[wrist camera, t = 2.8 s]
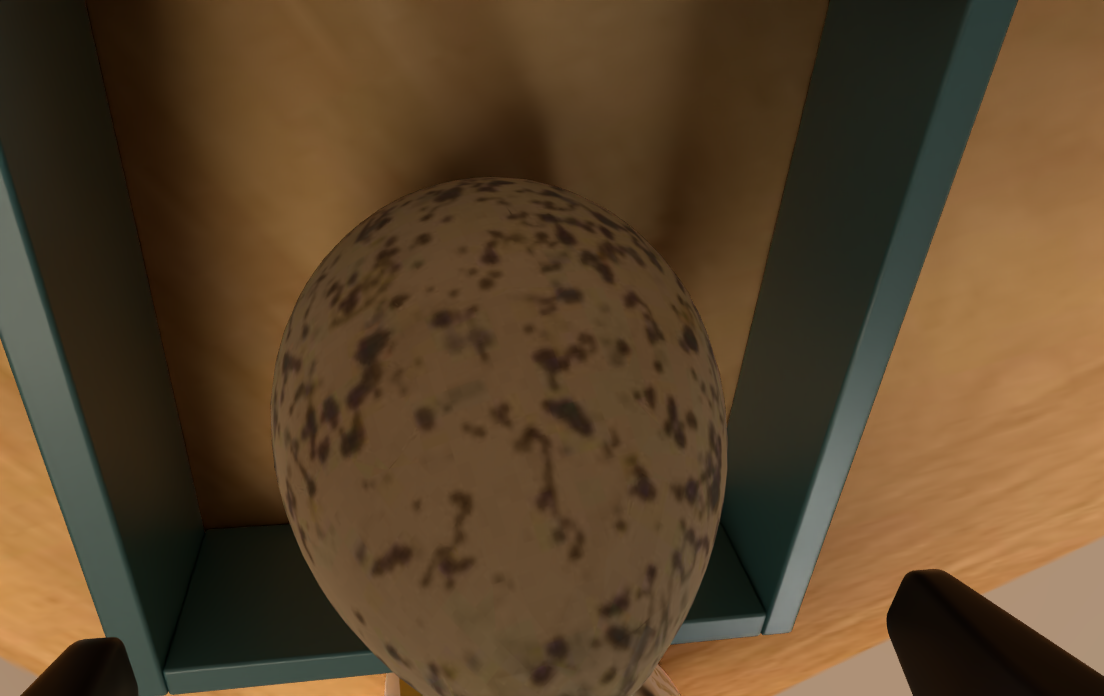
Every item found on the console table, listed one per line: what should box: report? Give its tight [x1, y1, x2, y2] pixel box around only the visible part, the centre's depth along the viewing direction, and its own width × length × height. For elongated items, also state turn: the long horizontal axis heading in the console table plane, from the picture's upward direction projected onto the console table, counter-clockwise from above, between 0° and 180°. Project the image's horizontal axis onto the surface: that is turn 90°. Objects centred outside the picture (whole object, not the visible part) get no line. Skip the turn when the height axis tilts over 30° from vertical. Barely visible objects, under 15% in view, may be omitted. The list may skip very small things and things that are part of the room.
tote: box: [0, 0, 1018, 696], centre depth 14 cm, size 15×15×4 cm
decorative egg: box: [271, 177, 728, 696], centre depth 12 cm, size 7×7×10 cm
